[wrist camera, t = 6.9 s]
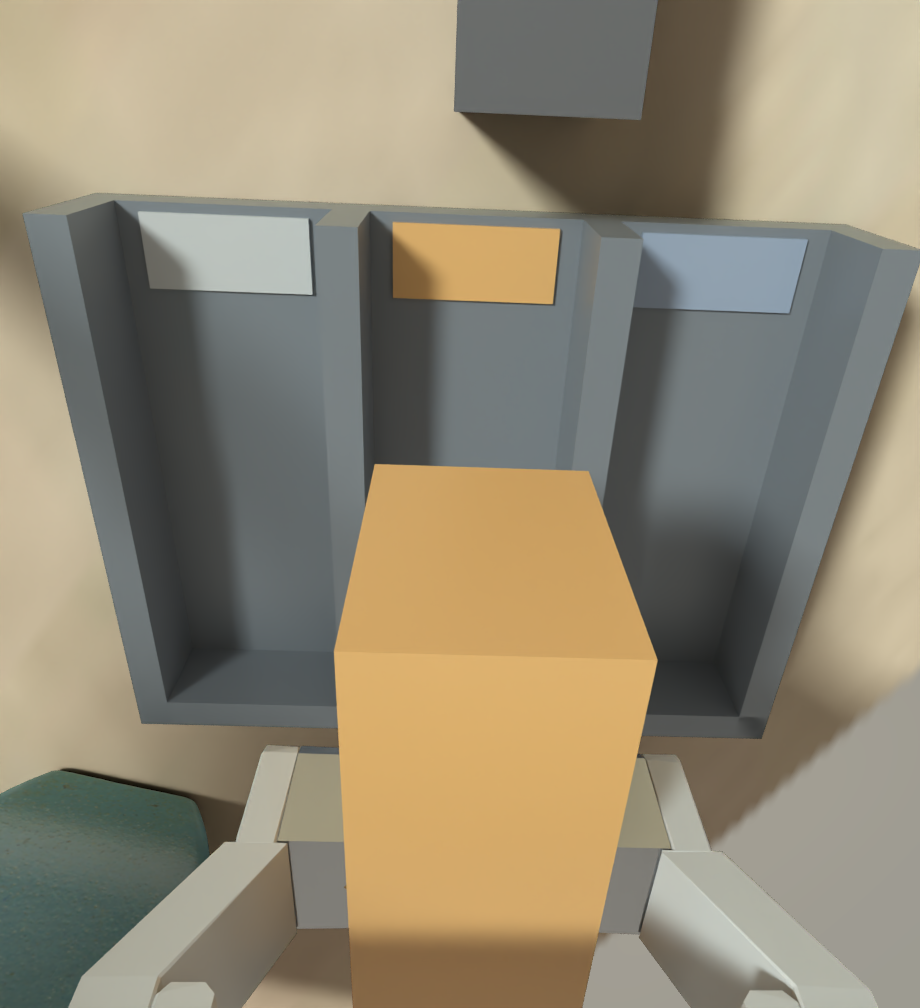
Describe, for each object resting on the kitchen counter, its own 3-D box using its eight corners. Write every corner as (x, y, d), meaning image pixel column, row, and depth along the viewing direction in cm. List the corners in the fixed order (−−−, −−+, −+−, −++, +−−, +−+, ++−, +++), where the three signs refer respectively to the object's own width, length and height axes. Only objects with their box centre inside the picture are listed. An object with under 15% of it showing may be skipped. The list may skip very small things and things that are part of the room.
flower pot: (-12, 873, 28) (-191, 1174, 20) (-7, 712, 24) (-229, 1010, 16) (218, 915, 30) (133, 1211, 22) (259, 769, 26) (172, 1069, 18)
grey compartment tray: (96, 193, 16) (22, 213, 14) (846, 224, 17) (924, 250, 14) (180, 646, 23) (141, 723, 20) (724, 661, 23) (761, 738, 20)
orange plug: (371, 463, 10) (326, 658, 7) (592, 471, 10) (665, 667, 7) (379, 874, 15) (354, 1127, 11) (535, 877, 15) (561, 1129, 11)
